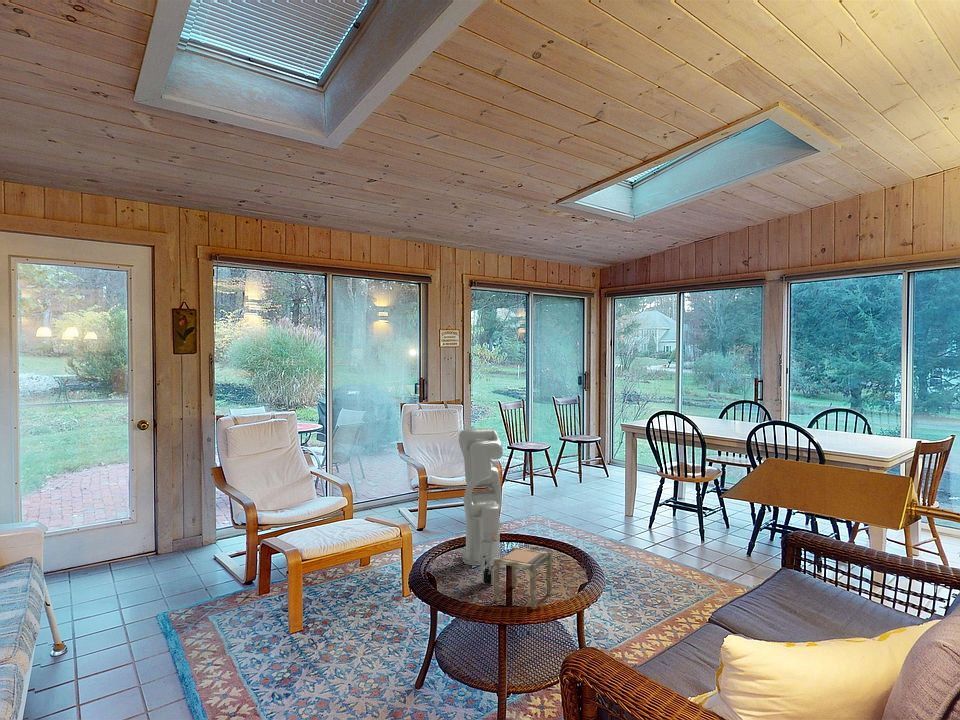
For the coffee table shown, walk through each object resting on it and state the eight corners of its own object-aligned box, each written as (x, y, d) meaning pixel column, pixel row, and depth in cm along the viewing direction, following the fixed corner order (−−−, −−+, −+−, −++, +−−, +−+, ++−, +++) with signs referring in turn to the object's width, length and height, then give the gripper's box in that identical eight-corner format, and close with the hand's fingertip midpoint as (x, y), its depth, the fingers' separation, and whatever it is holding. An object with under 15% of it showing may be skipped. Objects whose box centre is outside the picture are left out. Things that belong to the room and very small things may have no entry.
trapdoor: (501, 560, 200) (501, 557, 200) (515, 551, 211) (515, 548, 211) (530, 566, 194) (530, 562, 194) (543, 556, 205) (543, 553, 205)
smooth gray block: (482, 583, 216) (482, 568, 216) (488, 579, 220) (488, 564, 221) (493, 585, 214) (493, 570, 214) (499, 581, 218) (499, 566, 218)
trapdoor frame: (493, 600, 199) (493, 558, 199) (513, 585, 213) (513, 546, 214) (534, 610, 191) (534, 566, 191) (552, 593, 205) (551, 553, 205)
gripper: (492, 529, 227) (492, 572, 226) (471, 540, 212) (472, 586, 211) (508, 531, 223) (508, 575, 222) (488, 543, 208) (488, 590, 208)
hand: (490, 580), depth 217 cm, fingers closed on smooth gray block, 5 cm apart
